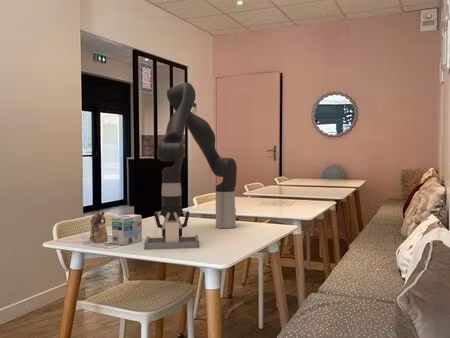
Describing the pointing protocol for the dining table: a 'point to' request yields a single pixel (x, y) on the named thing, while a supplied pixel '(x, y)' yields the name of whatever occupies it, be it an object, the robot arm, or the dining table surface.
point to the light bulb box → (126, 229)
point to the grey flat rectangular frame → (161, 243)
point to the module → (172, 231)
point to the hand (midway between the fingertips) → (172, 237)
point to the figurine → (98, 228)
